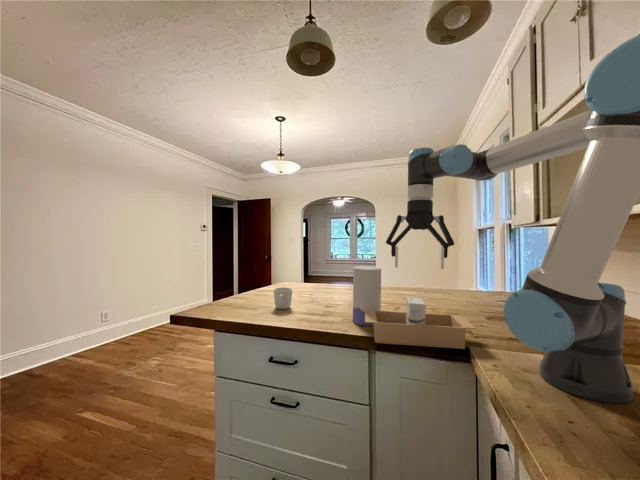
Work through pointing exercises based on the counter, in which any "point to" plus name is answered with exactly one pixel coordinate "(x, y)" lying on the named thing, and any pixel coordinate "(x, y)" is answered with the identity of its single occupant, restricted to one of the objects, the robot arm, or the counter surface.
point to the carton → (419, 329)
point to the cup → (282, 297)
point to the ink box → (415, 311)
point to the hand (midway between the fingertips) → (418, 267)
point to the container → (366, 292)
